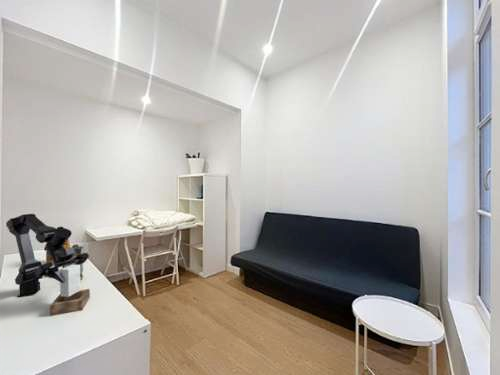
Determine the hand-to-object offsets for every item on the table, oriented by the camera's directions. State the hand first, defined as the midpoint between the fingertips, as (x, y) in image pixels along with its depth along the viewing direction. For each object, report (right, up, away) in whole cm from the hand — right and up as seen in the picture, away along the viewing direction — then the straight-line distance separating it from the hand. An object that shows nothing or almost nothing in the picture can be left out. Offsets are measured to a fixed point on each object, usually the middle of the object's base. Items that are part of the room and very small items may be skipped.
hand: (72, 279), depth 98 cm
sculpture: (-20, -13, +26) cm, 36 cm away
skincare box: (-1, -7, 0) cm, 7 cm away
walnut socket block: (-1, -13, +1) cm, 13 cm away
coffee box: (-29, -12, +36) cm, 47 cm away
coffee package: (-52, -12, +52) cm, 74 cm away
